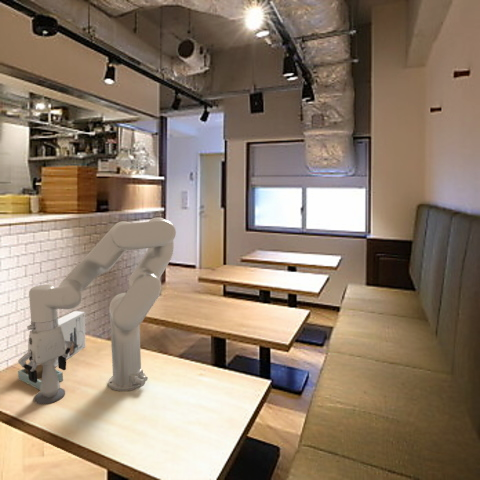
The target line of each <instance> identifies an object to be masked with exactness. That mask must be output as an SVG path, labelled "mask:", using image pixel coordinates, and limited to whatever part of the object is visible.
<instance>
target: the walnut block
mask: <svg viewBox="0 0 480 480" xmlns="http://www.w3.org/2000/svg"><path fill="white" fill-rule="evenodd" d="M27 365H28V363H27ZM35 370H36V371H37V379H38V380H40V379H42V372H43V366H42V365H41V364H38V365H37V367H36V368H35ZM26 374H28V370H27V369H26Z"/></svg>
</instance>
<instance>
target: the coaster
mask: <svg viewBox="0 0 480 480" xmlns="http://www.w3.org/2000/svg"><path fill="white" fill-rule="evenodd" d="M65 395H66V390H65V389H64V388H62V387H60V388H59V391H58V393H57V394H56V395H55V396H54V397H50V398H46V397H43V395H42V393H41V391H40V390H39V392H37V393H36V394H35V395H34V397H33V400H34V402H35V403H36V404H38V405H48V404H54V403H56V402H58V401H60V400H61V399H63V398H64V397H65Z"/></svg>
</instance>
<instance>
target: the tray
mask: <svg viewBox="0 0 480 480" xmlns="http://www.w3.org/2000/svg"><path fill="white" fill-rule="evenodd" d="M55 370H56V373H57V377H58V380H59V383H60V382H62V381H64V375H63V374H64V373H63V372H62V371H60V369H59V370H58V369H56V368H55ZM17 374H18V376H17V377H18V380H19V381H21V382H23V383H26V384H28V385H30V386H31V387H34V389H35V388H36V389H37V390H39V391H40V386H41V380H42V379H41V380H40V379H37V382H36V383H34V382H32V381H30V380H29V376H28V374H26V369H25V368H23V369H20V370H18V371H17Z"/></svg>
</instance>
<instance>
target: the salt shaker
mask: <svg viewBox="0 0 480 480" xmlns="http://www.w3.org/2000/svg"><path fill="white" fill-rule="evenodd" d="M55 362H56V359H52V360H50V361H47V362H45V363H42V364H41V365H42V366H43V372H42V377H41V386H40V390H39V392H40V391H41V393H42V395H43V397H46V398H50V397H54V396H55V395H56V394H57V393H58V391H59V388H61V384H60V382H59V380H58V377H57V373H56V370H57V369H56V367H55V366H54V363H55ZM55 369H56V370H55Z"/></svg>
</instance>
